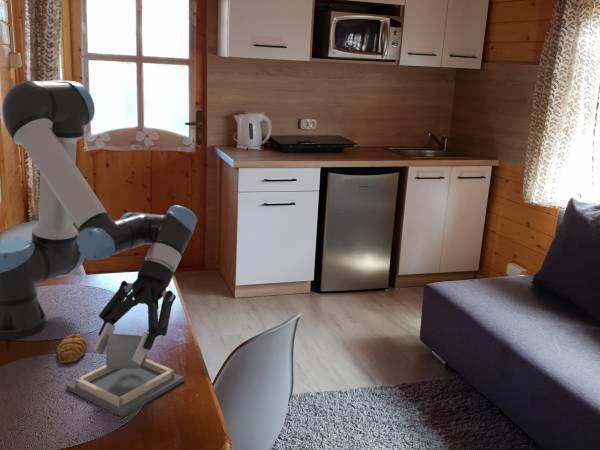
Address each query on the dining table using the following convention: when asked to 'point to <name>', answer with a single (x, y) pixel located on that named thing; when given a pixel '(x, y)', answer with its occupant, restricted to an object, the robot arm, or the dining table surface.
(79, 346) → the pastry
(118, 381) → the tray
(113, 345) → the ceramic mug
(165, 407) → the dining table surface
